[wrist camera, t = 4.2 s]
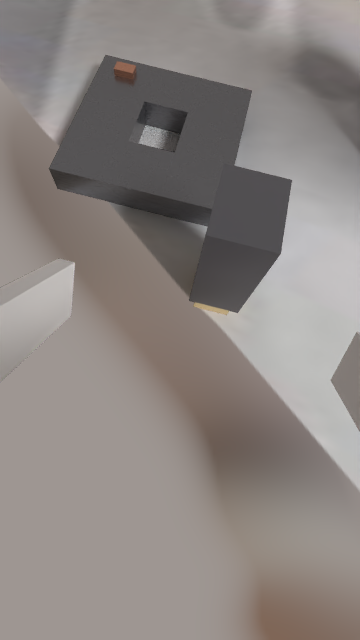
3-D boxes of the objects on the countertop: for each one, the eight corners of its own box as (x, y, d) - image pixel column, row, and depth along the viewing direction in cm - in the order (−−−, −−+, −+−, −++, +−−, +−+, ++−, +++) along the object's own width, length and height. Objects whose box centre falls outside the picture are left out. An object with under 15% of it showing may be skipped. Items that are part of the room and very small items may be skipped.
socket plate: (245, 113, 34) (253, 84, 32) (217, 228, 29) (224, 207, 26) (109, 80, 35) (104, 48, 32) (57, 188, 29) (46, 163, 27)
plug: (241, 271, 28) (291, 179, 17) (231, 321, 26) (280, 254, 16) (198, 261, 28) (224, 163, 17) (186, 310, 26) (205, 235, 16)
